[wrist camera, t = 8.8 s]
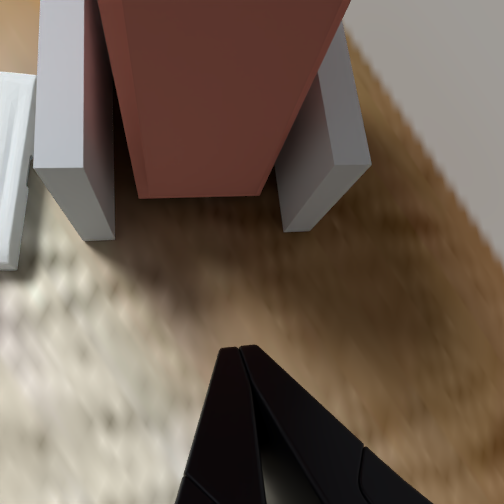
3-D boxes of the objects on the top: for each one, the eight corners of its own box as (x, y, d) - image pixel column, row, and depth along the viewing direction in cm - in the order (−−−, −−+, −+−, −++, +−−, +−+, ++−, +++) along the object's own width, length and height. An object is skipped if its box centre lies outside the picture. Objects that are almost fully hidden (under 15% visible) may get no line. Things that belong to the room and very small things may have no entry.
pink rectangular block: (260, 208, 17) (472, -201, 5) (139, 212, 16) (27, -288, 4) (245, 77, 19) (371, -459, 7) (134, 74, 18) (47, -566, 6)
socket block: (309, 231, 18) (453, 77, 9) (83, 241, 16) (-42, 58, 7) (283, 61, 20) (373, -200, 11) (84, 52, 18) (-7, -271, 9)
